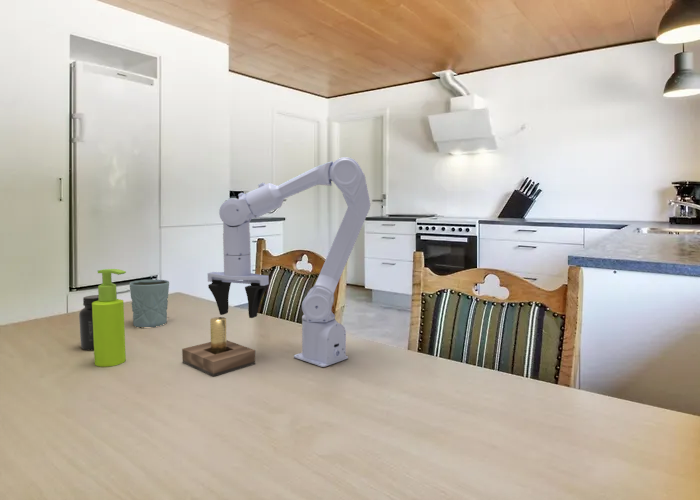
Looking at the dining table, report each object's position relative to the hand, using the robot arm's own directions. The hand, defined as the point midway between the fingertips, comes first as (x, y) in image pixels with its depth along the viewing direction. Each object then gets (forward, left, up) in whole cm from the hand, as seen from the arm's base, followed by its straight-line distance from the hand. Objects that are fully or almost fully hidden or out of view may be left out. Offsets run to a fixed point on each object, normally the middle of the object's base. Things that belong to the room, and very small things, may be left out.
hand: (238, 315), depth 101 cm
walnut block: (-1, +6, -9) cm, 11 cm away
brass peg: (-1, +6, -9) cm, 10 cm away
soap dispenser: (+16, +21, -10) cm, 28 cm away
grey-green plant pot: (+41, +1, -10) cm, 43 cm away
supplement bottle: (+30, +19, -10) cm, 37 cm away
